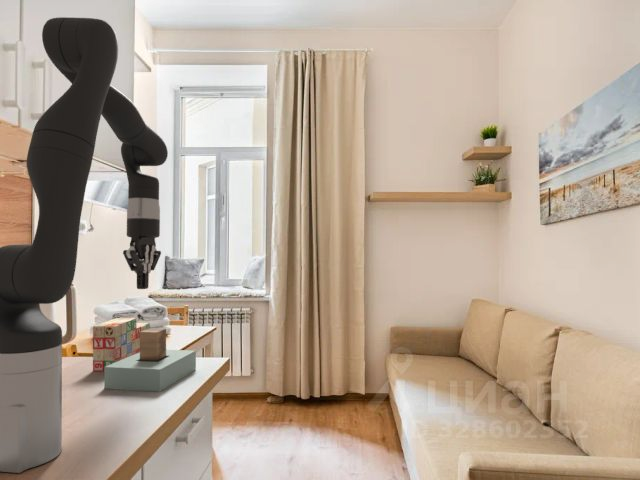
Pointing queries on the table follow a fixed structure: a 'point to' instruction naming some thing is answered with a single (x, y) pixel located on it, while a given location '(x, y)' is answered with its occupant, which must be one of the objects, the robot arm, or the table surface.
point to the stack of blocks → (116, 341)
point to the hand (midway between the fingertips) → (142, 288)
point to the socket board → (149, 371)
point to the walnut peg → (153, 345)
